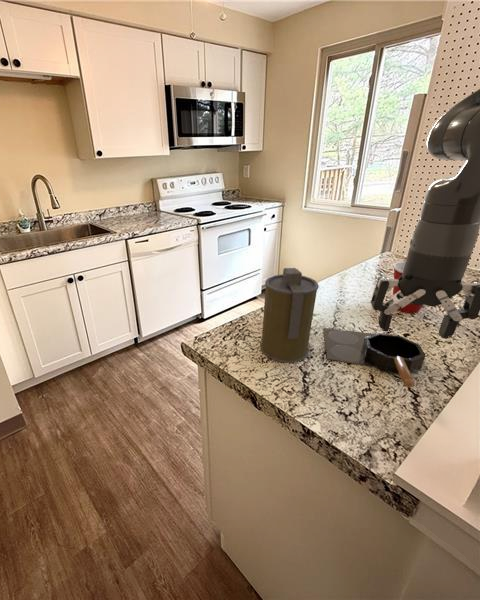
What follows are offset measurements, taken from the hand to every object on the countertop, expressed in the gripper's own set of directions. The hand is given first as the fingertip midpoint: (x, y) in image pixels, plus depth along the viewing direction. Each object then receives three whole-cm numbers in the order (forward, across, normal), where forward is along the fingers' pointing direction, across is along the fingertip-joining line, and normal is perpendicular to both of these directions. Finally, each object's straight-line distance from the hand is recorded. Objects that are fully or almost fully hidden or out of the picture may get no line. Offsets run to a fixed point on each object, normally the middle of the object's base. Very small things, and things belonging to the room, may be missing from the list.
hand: (412, 332), depth 57 cm
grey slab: (+11, -4, +10) cm, 16 cm away
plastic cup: (+12, +9, +34) cm, 37 cm away
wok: (+11, 0, +3) cm, 11 cm away
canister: (+11, -21, +4) cm, 24 cm away
